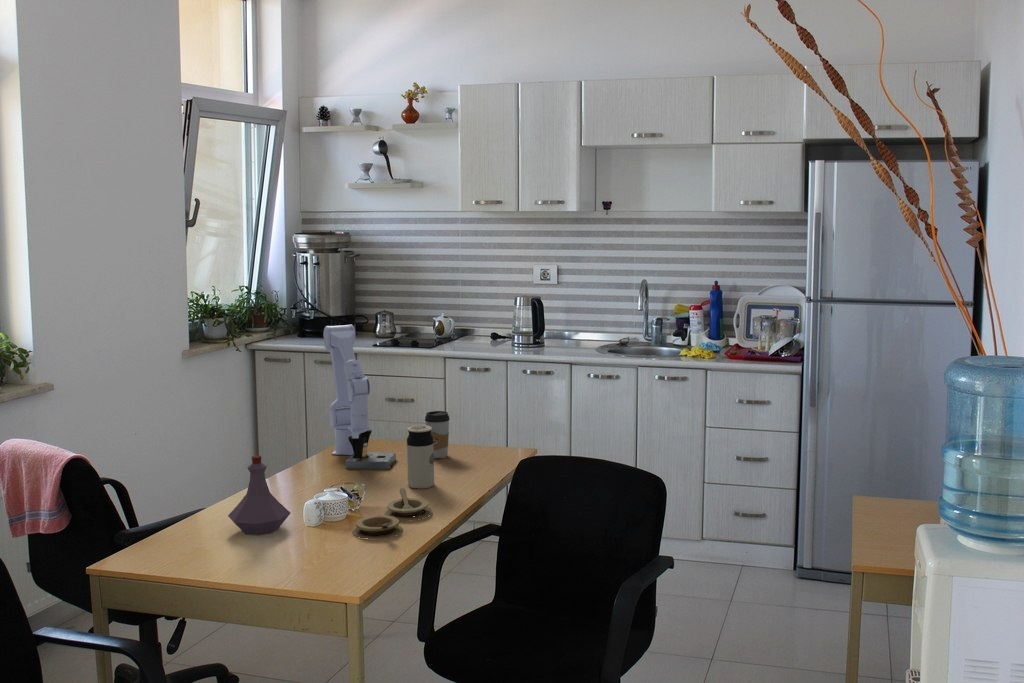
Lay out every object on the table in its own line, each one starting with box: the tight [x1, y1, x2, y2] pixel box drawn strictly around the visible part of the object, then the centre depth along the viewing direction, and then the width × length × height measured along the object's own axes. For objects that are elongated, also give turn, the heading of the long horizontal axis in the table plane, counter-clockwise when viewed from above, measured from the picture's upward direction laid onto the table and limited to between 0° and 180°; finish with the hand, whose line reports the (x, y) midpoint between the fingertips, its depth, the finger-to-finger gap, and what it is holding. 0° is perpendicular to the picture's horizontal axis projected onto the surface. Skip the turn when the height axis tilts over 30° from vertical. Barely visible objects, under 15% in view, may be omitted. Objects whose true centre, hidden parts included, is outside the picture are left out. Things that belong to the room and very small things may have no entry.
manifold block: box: [344, 451, 397, 470], centre depth 339 cm, size 12×14×2 cm
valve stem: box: [355, 442, 368, 459], centre depth 339 cm, size 4×4×7 cm
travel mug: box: [406, 424, 435, 490], centre depth 312 cm, size 8×8×18 cm
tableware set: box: [351, 487, 433, 540], centre depth 279 cm, size 30×20×6 cm, turn 157°
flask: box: [227, 455, 291, 536], centre depth 273 cm, size 16×16×20 cm
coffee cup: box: [424, 410, 450, 459], centre depth 347 cm, size 8×8×15 cm
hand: (360, 454), depth 339 cm, fingers open, 6 cm apart
